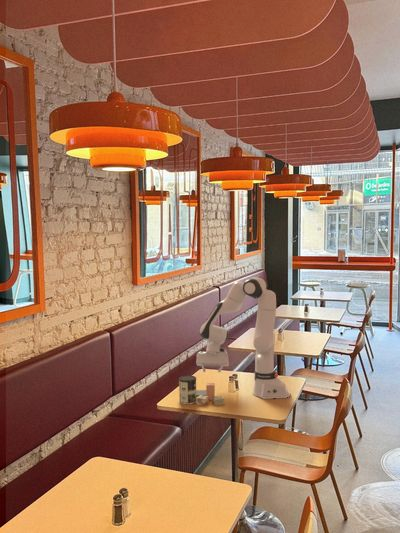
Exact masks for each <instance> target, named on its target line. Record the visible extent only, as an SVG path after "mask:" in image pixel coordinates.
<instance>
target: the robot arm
mask: <svg viewBox="0 0 400 533" xmlns="http://www.w3.org/2000/svg"><path fill="white" fill-rule="evenodd" d="M276 296H277V295H276V292H274V291H273V290H270V289H268V281H267V280H266V279H265V278H263V277H261V276H256V277H255V276H253V277H250V278H248V279H246V280H245V281H244V282H243V281H241V280H238V281H235V282H234V283H233V284H232V286H231V287H230V289H229V291H228V293H227V295H226V296H225V298H224V299H223V300H221V301H219V302H217V304H216V305H215V306H214V307H213V309H212V311H211V312H210V314H209V316H207V318H206V320H205V321H204V322H203V323H202V324H201V327H200V329H199V332H198V333H199V335H200V337H201V338H202V339H203V340H206V343H207V344H206V351H198V352H197V353H196V361H195V362H196V363H195V364H196V365H197V366H198V367H201V368H202V372H203V373H206V372H207V371H206V368H205V367H219V368H218V370H217V372H218V373H221V372H222V369H224V367H228V366H230V365H229V364H230V363H229V361H230V360H229V356H228V352H227V351H228V350H227V349H226V348H222V347H221V345H224V344H225V343H227V341H228V340H229V336H230V333H229V331H228V329H227V328H225V327H222V326H219V325H215V324H214V323H215V322H216V320H217V319H218V317H219V316H220V315H222V314H227V313H228V314H229V313H235V312H236V313H237V312H238V311H239V310H241V308H242V307H243V305H244V303H245V300H246V298H247V297H250V298H253V299H256V300H257V310H256V311H257V312H256V322H255V326H254V328H255V329H254V334H253V343H252V344H253V347H254V349H255V357H254V359H255V360H254V361H255V362H254V363H255V364H254V366H255V370H254V373H253V374H254V377H253V378H254V387H253V389H252V390H253V392H252V395H253V396H255V397H259V398H261V399H263V400H270V399H271V400H272V399H273V398H276V399H288V398H290V397H291V392H290V390H288V389H287V386H286V384H285V382H284V381H283V380H281V379H280V378H279V377H278V376H279V374H278V373H277V370H274V368H275V367H274V365H275V364H274V359H275V358H274V357H275V343H276V342H275V340H276V337H275V333H274V330H275V323H276V315H277V297H276ZM289 396H290V397H289ZM287 397H288V398H287ZM273 400H274V399H273Z"/></svg>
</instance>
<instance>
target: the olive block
mask: <svg viewBox="0 0 400 533" xmlns="http://www.w3.org/2000/svg"><path fill="white" fill-rule="evenodd" d="M222 396H223V395H215V396H214V397H213V400H212V403H213V405H214V406H222V405H224V398H223V397H222Z"/></svg>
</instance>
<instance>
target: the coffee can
mask: <svg viewBox="0 0 400 533" xmlns="http://www.w3.org/2000/svg"><path fill="white" fill-rule="evenodd" d="M196 390H197V377H196V376H194V375H189V374H188V375H186V374H185V375H181V376H179V377H178V391H179V392H178V394H179V395H178V397H179V404H182V405H192V404H196V403H197V396H196Z"/></svg>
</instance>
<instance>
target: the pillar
mask: <svg viewBox="0 0 400 533" xmlns="http://www.w3.org/2000/svg"><path fill="white" fill-rule="evenodd" d="M215 385H216V384H215V382H207V383H206V387H205V389H206V396H208V401H213V397H214V396H216V395H215V394H216V392H215V391H216V389H215V388H216V387H215Z"/></svg>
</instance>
